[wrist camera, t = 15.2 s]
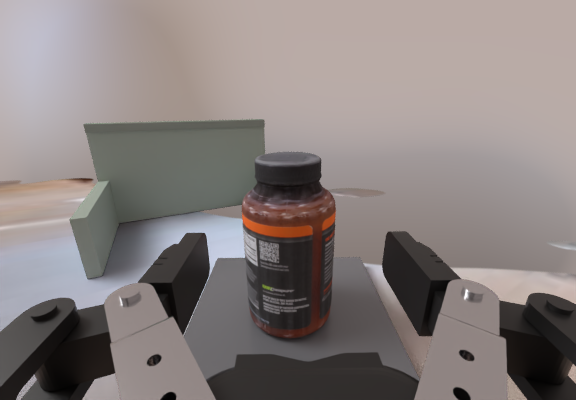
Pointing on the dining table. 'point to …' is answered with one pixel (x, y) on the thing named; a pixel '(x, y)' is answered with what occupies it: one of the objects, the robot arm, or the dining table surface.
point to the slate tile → (320, 344)
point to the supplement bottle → (289, 244)
